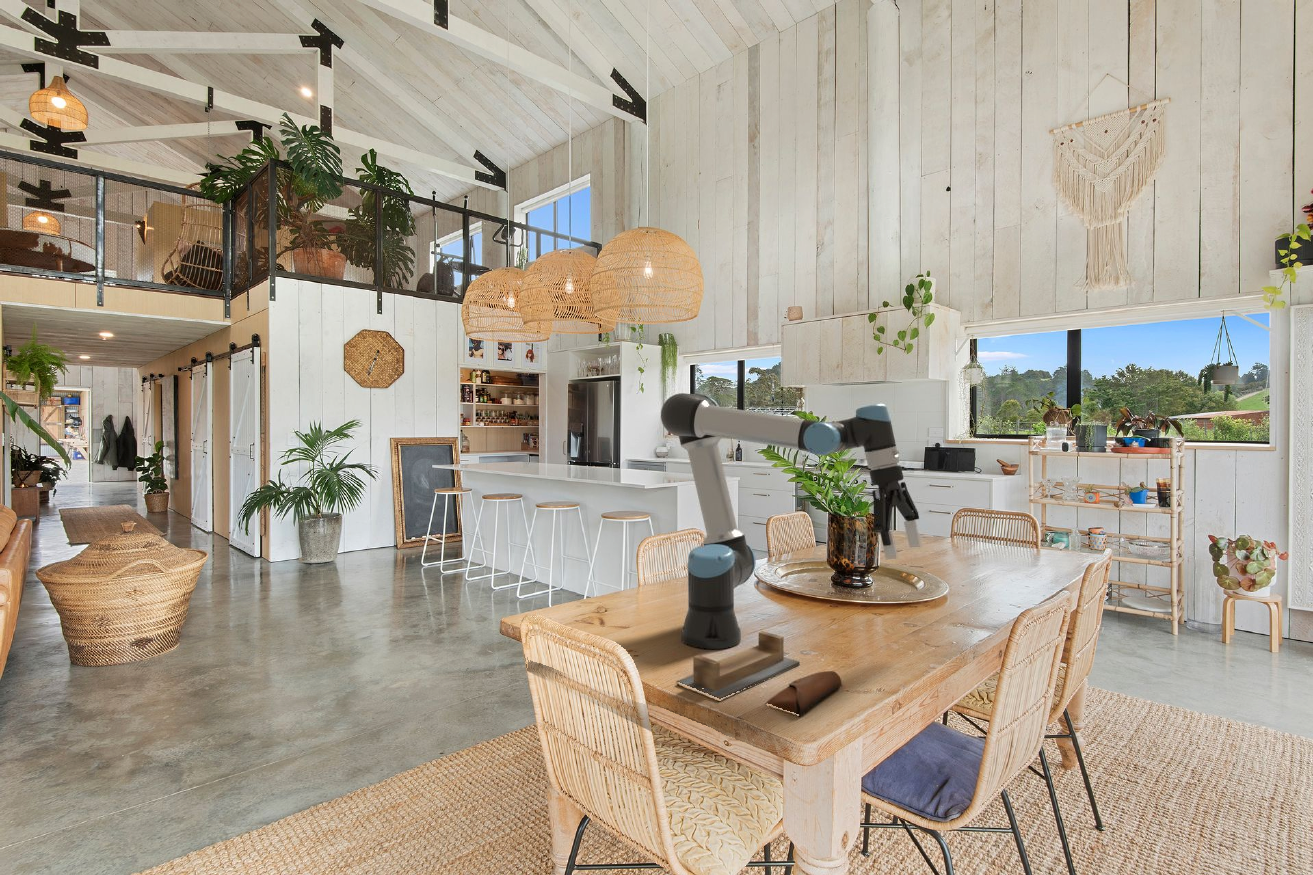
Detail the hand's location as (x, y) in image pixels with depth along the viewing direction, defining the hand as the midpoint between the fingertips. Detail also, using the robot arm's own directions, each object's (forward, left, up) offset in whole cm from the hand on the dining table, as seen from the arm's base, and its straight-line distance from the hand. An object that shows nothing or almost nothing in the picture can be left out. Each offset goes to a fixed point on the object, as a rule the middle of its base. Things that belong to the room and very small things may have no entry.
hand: (904, 552), depth 160 cm
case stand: (-18, -41, -24) cm, 50 cm away
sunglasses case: (-2, -41, -24) cm, 47 cm away
